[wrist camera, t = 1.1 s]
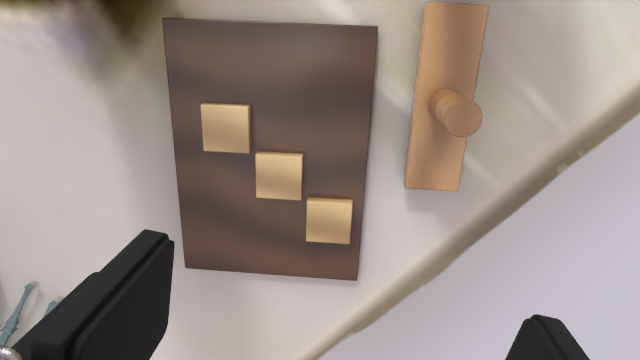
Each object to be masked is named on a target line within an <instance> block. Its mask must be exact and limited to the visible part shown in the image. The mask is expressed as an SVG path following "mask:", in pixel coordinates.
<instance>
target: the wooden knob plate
mask: <svg viewBox="0 0 640 360" xmlns="http://www.w3.org/2000/svg"><path fill="white" fill-rule="evenodd" d="M488 8H489V5H482V4H453V3H426V4H425V7H424V16H423V24H422V33H421V41H420V50H419V58H418V67H417V75H416V84H415V92H414V101H413V109H412V118H411V126H410V135H409V144H408V152H407V161H406V169H405V178H404V186H405V188H410V189H426V190H443V191H458V187H459V181H460V175H461V169H462V163H463V157H464V151H465V145H466V139H467V136H469V135H471V134H473V133H474V132H475V131H476V130H477V129H478V128H479V126H480V124H481V121H482V112H481V110H480V108H479V106H478V105H477V104H475V103H474V102H473V97H474V92H475V86H476V80H477V74H478V68H479V62H480V56H481V50H482V44H483V38H484V32H485V26H486V20H487V14H488Z"/></svg>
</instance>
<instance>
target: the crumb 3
mask: <svg viewBox="0 0 640 360" xmlns="http://www.w3.org/2000/svg"><path fill="white" fill-rule="evenodd" d="M352 205H353V201H352V200H348V199H332V198H316V197H308V199H307V215H306V241H310V242H325V243H339V244H350V233H351V219H352Z"/></svg>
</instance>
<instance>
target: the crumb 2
mask: <svg viewBox="0 0 640 360" xmlns="http://www.w3.org/2000/svg"><path fill="white" fill-rule="evenodd" d="M255 159H256V197H257V198H271V199H287V200H301V199H302V192H303V154H297V153H279V152H262V151H258V152H257V153H256V155H255Z"/></svg>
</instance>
